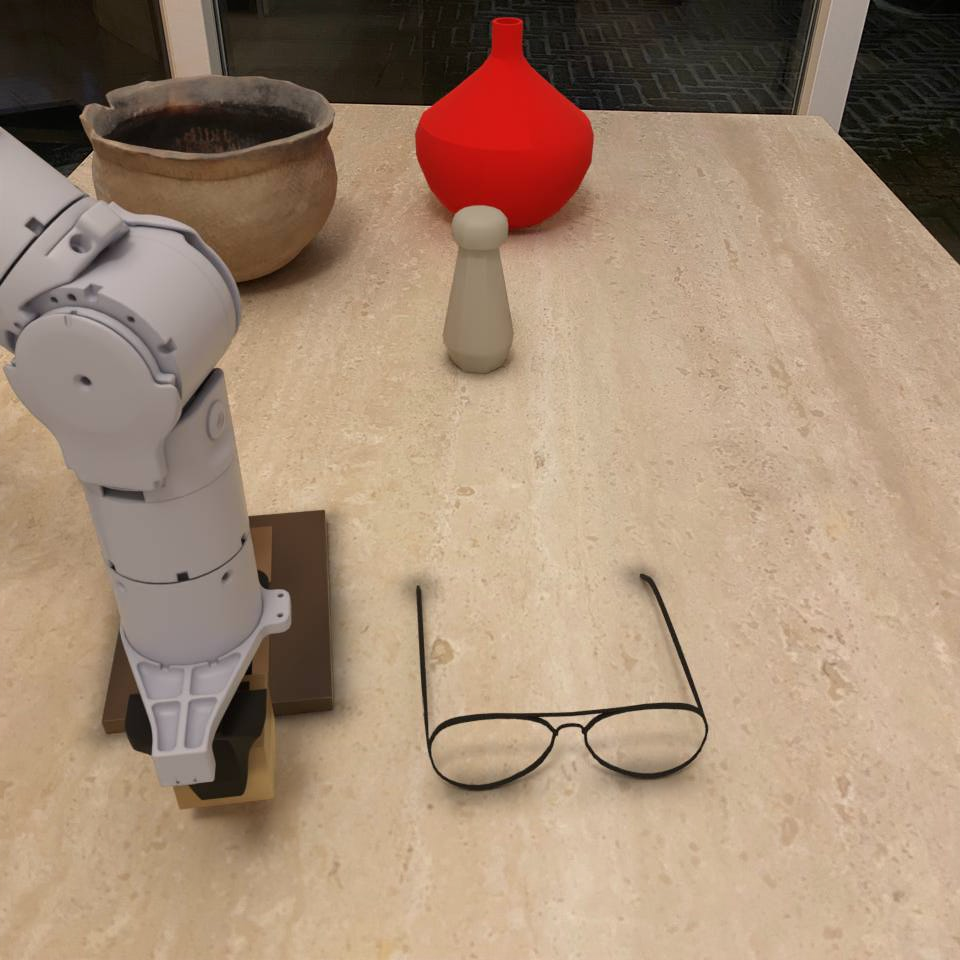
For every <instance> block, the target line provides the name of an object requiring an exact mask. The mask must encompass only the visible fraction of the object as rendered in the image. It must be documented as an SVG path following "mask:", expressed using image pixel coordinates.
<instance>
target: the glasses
mask: <svg viewBox="0 0 960 960" xmlns="http://www.w3.org/2000/svg"><path fill="white" fill-rule="evenodd" d="M639 577H640V578H641V579H642V580H644V581H646V583H648V585H649V586H650V587H649V588H651V590H652V593H653V594H654V597H655V599H656V601H657V604H658V606H659V609H660V612H661V614H662V617H663V619H664V621H665V625H666V627H667V630H668V632H669V635H670V637H671V640H672V642H673V645H674V648H675V651H676V653H677V656H678V659H679V662H680V664H681V667H682V670H683V672H684V674H685V678H686V680H687V683H688V685H689V688H690V690H691V693H692V695H693V698H694V701H695V704H696V705H694V704H690V703H686V702H673V701H672V702H671V701H670V702H665V701H663V702H649V703H648V702H647V703H640V704H633V705H626V706H617V707H608V708H598V709H589V710H577V711H562V712H561V711H560V712H558V711H557V712H487V713H486V712H485V713H474V714H466V715H459V716H455V717H450V718H448V719H446V720H444V721H442V722H441V723H439V724H438V725H437V726H436V727H435V728H434V730H433V731H432V732H431V735H430V732H429V730H430V727H429V708H428V707H429V706H428V687H427V686H428V685H427V669H426V650H425V649H426V648H425V634H424V633H425V632H424V631H425V630H424V616H423V599H422V598H423V597H422V589H421V586H420V584H419V585H418V584H417V585H416V587H415V593H416V594H415V597H416V612H417V613H416V614H417V615H416V617H417V634H418V635H417V636H418V653H419V654H418V655H419V671H420V687H421V689H420V690H421V705H422V717H423V723H424V732H425V733H424V734H425V740H426V741H425V742H426V747H427V753H428V757H429V760H430V763H431V766H432V768H433V770H434V772H435V773H436V774H437V776H439V777H440V778H441V779H442V780H444V781H445V782H447V783H448V784H450V785H452V786H454V787H457V788H460V789H466V790H469V791H470V790H473V791H482V790H483V791H484V790H491V789H495V788H498V787H501V786H504V785H507V784H510V783H512V782H514V781H516V780H519V779H521V778H523V777H526V776H527V775H529V774H530V773H532V772H533V771H536V769H537V768H538V767H539V766H541V765H542V764H543V763H544V761H545V760H546V759H547V757H548V756H549V755H550V753H551V752H552V750H553V748H554V746H555V742H556V738H557V737H558V736H559V733H560V731H561V730H562V729H566V728H580V729H581V730H580V731H581V734H582V735H583V740H584V746H585V748H586V749H587V751H588V752H589V753H590V754H591V756H592V758H593V759H594V760H595V761H597V763H598V764H599V765H601V766H603V767H605V768H606V769H608V770H610V771H613V772H616V773H619V774H621V775H624V776H628V777H631V778H636V779H637V778H638V779H658V778H663V777H666V776H670V775H672V774H675V773H677V772H679V771H681V770H683V769H685V768H686V767H687V766H689V765H690V764H692V762H693V761H695V760H696V759H697V758H698V756H699V754H700V753H701V752H702V749H703V747H704V745H705V743H706V742H707V739H708V735H709V723H708V721H707V716H706V714H705V712H704V709H703V705H702V702H701V699H700V697H699V694H698V691H697V688H696V684H695V682H694V679H693V676H692V673H691V671H690V667H689V664H688V662H687V659H686V657H685V654H684V652H683V648H682V646H681V643H680V641H679V638H678V636H677V633H676V630H675V628H674V625H673V622H672V619H671V618H670V615H669V612H668V610H667V608H666V605H665V602H664V600H663V598H662V594H661V592H660V591H659V588H658V586H657V584H656V582H655V581H654V579H653V578H652V577H651V576H649V575H647V574H645V573H640V574H639ZM651 710H681V711H688V712H692V713H695V714H697V715H698V716H700V717H701V719H702V722H703V724H704V728H705V729H704V736H703V739H702V741H701V743H700V746H699V747H698V749H697V750H696V752H695V753H694V754H693V755H692V756H691V757H690V758H688V759H687V760H686V761H684V762H683V763H681V764H679V765H677V766H675V767H673V768H670V769H667V770H663V771H657V772H638V771H632V770H628V769H624V768H621V767H618V766H616V765H613V764H611V763H609V762H608V761H606V760H604V759H603V758H601V757H600V756H599V755H598V754H597V753H596V752H595V751H594V750H593V748H592V747H591V745H590V743H589V740H588V732H589V731H590V730H591V729H592V728H593V727H594V726H595V725H596V724H597V723H599V722H601V721H603V720H605V719H607V718H608V719H609V718H610V717H613V716H616V715H621V714H624V713H630V712H631V713H632V712H640V711H651ZM589 715H590V716H591V715H596V716H594V717H592V719H590V720H589V722H587V724H586V725H585V726H584V725H583V724H581V723H577V722H568V723H567V722H566V723H564V724H560V725H558V726H557V727H556V728H555V727H554V726H553V725H552V724H551V723H550V722H549V721H548V720H546V719H544V718H564V717H567V718H568V717H580V716H589ZM491 720H519V721H520V720H521V721H530V722H533V723H537V724H540V725H542V726H544V727H546V728H547V729H548V730H549V732H551V734H552V736H551V740H550V743H549V744H548V746H547V747H546V749H545V750H544V751H543V753H542V754H541V755H540V756H539V757H537V759H536V760H535V761H534V762H532V763H531V764H530V765H528V766H527V767H526V768H524V769H522V770H520V771H519V772H516V773H514V774H513V775H510V776H508V777H506V778H503V779H500V780H497V781H492V782H490V783H482V784H468V783H463V782H458V781H456V780H452V779H450V778H448V777H446V775H443V774H442V773H441V772H440V771H439V770H438V768H437V766H436V765H435V762H434V759H433V754H432V746H433V742H434V741H435V738H436V737H437V736H438V735H439V734H440V733H441V732H442V731H443V730H445V729H447V728H449V727H452V726H456V725H460V724H464V723H472V722H478V721H491Z"/></svg>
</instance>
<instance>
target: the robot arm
mask: <svg viewBox="0 0 960 960" xmlns="http://www.w3.org/2000/svg"><path fill="white" fill-rule="evenodd" d="M242 311H243V310H242V300H241V295H240V291H239V287H238V284H237V282H235V280H234V278H233V276H232V274H231V272H230V271H229V269H228V268H227V266H226V265H225V263H224V262H223V261H222V259H221V258H220V257H219V256H218V255H217V254H216V253H215V251H214V250H213V249H212V248H210V247H209V246H208V245H207V244H206V243H205V242H204V241H203V240H202V238H201V237H200V236H199V234H198V233H197V232H196V231H195V230H194V229H193V228H191V227H189V226H187V225H185V224H183V223H181V222H178V221H176V220H173V219H170V218H166V217H162V216H157V215H141V214H134V213H131V212H128V211H126V210H124V209H123V208H121V207H120V206H118V205H117V204H116V203H115V202H111V203H110V204H107V203H106V202H104V201H102V200H100V201H98V200H97V199H95V198H93V197H92V196H90V195H89V194H88V193H86V192H85V191H84V190H83V189H82V188H80V187H79V186H77V185H76V184H75V183H74V182H72V181H71V180H70V179H69V178H67V177H66V176H64V174H62V173H61V172H60V171H58V170H57V169H56V168H54V167H53V166H52V165H51V164H50V163H48V162H47V161H45V160H44V159H43V158H42V157H41V156H39V155H38V154H37V153H35V152H34V151H33V150H32V149H31V148H29V147H28V146H26V145H25V144H24V143H22V142H21V141H20V140H18V139H17V138H16V137H15V136H14V135H12V134H11V133H9V132H8V131H7V130H5V128H3V127H2V126H0V346H1V347H2V348H4V349H5V350H6V351H8V352H10V353H11V354H12V355H14V357H13V358H12V359H10V361H9V362H10V363H7V364H4V365H3V366H2V370H3V373H4V375H5V378H6V380H7V382H8V384H9V386H10V388H11V389H12V391H13V393H14V394H15V395H16V397H17V399H18V400H19V401H20V402H21V404H22V405H23V406H24V408H26V410H27V411H29V413H30V414H31V415H32V416H33V417H34V418H35V419H37V421H39V422H40V423H41V424H42V425H43V426H44V427H45V428H46V429H47V430H48V431H49V432H50V433H51V434H52V436H53V437H54V438H55V440H56V441H57V443H58V446H59V448H60V450H61V453H62V457H63V460H64V463H65V467H66V469H67V470H72V471H73V472H74V473H75V476H76V478H77V479H78V480H79V481H80V483H81V486H82V490H83V493H84V496H85V500H86V504H87V508H88V511H89V513H90V518H91V520H92V524H93V528H94V532H95V534H96V537H97V542H98V544H99V548H100V551H101V556H102V559H103V562H104V566H105V569H106V572H107V576H108V579H109V583H110V586H111V589H112V593H113V596H114V600H115V603H116V607H117V609H118V614H119V617H120V620H119V626H120V634H121V639H122V642H123V646H124V649H125V652H126V655H127V658H128V661H129V663H130V666H131V669H132V672H133V675H134V678H135V681H136V684H137V686H138V689H139V692H140V693H139V694H130V695H129V700H128V706H127V712H126V718H125V731H124V732H125V733H126V737H127V740H128V742H129V744H130V746H131V748H132V749H133V750H134V751H136V752H139V753H142V754H146V755H148V756H151V759H152V762H153V766H154V769H155V772H156V775H157V779H158V782H159V785H160V787H161V788H166V787H167V788H168V787H173V786H177V785H178V786H181V785H188V786H189V787H190V788H191V789H192V791H193V792H194V793H195V794H196V795H197V796H198V797H199V798H200V799H201V800H209V799H218V798H227V797H236V796H242V795H243V794H244V792H245V789H246V785H247V779H248V759H249V752H250V749H251V747H252V745H253V743H254V742H255V741H256V740H257V739H258V738H259V737H260V736H261V733H262V731H263V727H264V724H265V720H266V706H267V689H257V690H247V691H238V692H236V690H237V688H238V686H239V684H240V682H241V680H242V678H243V676H244V675H250V674H252V662H253V657H254V655H255V653H256V651H257V649H258V647H259V645H260V643H261V641H262V639H263V638H264V637H266V636H267V635H269V634H274V633H281V632H285V631H286V630H287V629H289V628H290V625H291V600H290V595H289V593H288V592H287V591H285V590H281V589H276V590H270V584H269V579H268V576H267V575H266V574H265V573H264V572H263V571H260V570H257V567H256V561H255V555H254V549H253V543H252V538H251V532H250V526H249V518H248V516H249V512H248V505H247V500H246V494H245V488H244V483H243V476H242V471H241V464H240V459H239V453H238V446H237V441H236V434H235V429H234V425H233V419H232V413H231V408H230V402H229V401H230V400H229V395H228V389H227V383H226V377H225V372H224V370H223V369H222V368H220V367H216V366H217V365H218V363H219V362H220V360H221V359H223V357H224V355H225V354H226V353H227V352H228V350H229V349H230V347H231V345H232V342H233V340H234V339H235V337H236V335H237V334H238V331H239V328H240V325H241V322H242V313H243V312H242Z"/></svg>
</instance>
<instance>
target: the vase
mask: <svg viewBox="0 0 960 960" xmlns="http://www.w3.org/2000/svg"><path fill="white" fill-rule="evenodd" d="M491 23H492V24H491V25H492V26H491V50H490V54H489V55H488V57H487V58H486V59H485V61H484V62H483V64H482V65H481V66H480V67H478V68H477V69H476V70H475V71H474V72H473V73H471V74H470V75H469V76H467V78H465V79H464V80H463V81H462V82H461V83H460V84H458V85H457V86H456V87H455V88H453V89H452V90H451V91H449V92H448V93H447V94H445V95H444V96H442V97H441V98H440V99H439V100H437V101H436V102H434V104H432V105H431V106H430V107H428V108H426V110H424V111H423V112H422V113H421V116H420V118H419V120H418V123H417V126H416V130H415V132H414V142H415V145H414V146H415V156H416V159H417V162H418V165H419V167H420V169H421V170H420V171H421V172H422V174H423V176H424V179H425V181H426V183H427V185H428V188H429V190H430V192H431V193H432V194H433V195H434V196H435V197H436V199H437V200H438V201H439V202H440V203H441V205H442V206H443V207H444V208H445V209H446V210H447V211H448V212H450V213H451V214H452V215H455V214H456V213H457V212H458V211H460V210H461V209H463V208H465V207H470V206H481V205H484V206H490V207H494V208H496V209H499V210H500V211H501V212H502V213H503V214H504V215H505V216H506V217H507V221H508V231H513V230H516V231H517V230H522V229H528V228H532V227H534V226H537V225H540V224H542V223H543V222H545V221H547V220H548V219H550V218H551V217H553V216H554V215H556V214H558V213H559V212H560V211H561V210H562V209H563V208H564V207H565V205H566V204H568V203H569V201H570V200H571V199H572V198H573V197H574V196H575V194H576V193H577V192H578V191H579V189H580V187H581V185H582V183H583V180H584V179H585V177H586V175H587V172H588V171H589V169H590V167H591V165H592V163H593V162H592V161H593V151H594V142H595V141H594V140H595V133H594V130H593V126H592V122H591V119H590V118H589V117H588V116H587V115H586V113H585V112H584V111H583V110H582V109H580V108H579V107H578V106H576V105H575V104H574V103H573V102H572V101H571V100H569V99H568V98H567V97H566V96H564V95H563V94H562V93H561V92H559V90H557V89H556V87H554V86H553V85H552V84H551V83H549V81H548V80H546V79H545V78H544V77H543V76H542V75H541V74H540V73H538V72H537V71H536V70H535V69H534V68H533V67H532V66H531V64H530V63H529V62H528V60H527V59H526V57H525V56H524V50H523V35H524V21H523V19H521V18H517V17H507V16H506V17H497V18H494V19H492V20H491Z"/></svg>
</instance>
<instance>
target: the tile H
mask: <svg viewBox="0 0 960 960" xmlns="http://www.w3.org/2000/svg"><path fill="white" fill-rule="evenodd" d="M257 689H267V706H266V720H265V724H264V727H263V731H262V733H261V736H260V737H259V738H258V739H257V740H256V741H255V742H254V743H253V745H252V747H251V749H250V752H249V759H248V779H247V785H246V789H245V792H244V794H243V795H242V796H236V797H227V798H218V799H209V800H201V799H200V798H199V797H198V796H197V795H196V794H195V793H194V792H193V791H192V789H191V788H190V787H189V786H188V785H181V786H178V785H177V786H172V789H173V792H174V796H175V799H176V802H177V805H178V809H179V810H187V809H196V808H204V807H205V808H206V807H214V806H221V805H223V806H224V805H231V804H238V803H248V802H256V801H264V800H265V801H266V800H273V799H275V773H276V771H275V770H276V769H275V768H276V767H275V765H276V721H275V715H274V714H273V708H272V703H271V697H270V691H269V685H268V680H267V674H266V673H260V674H250V675H244V676H243V678H242V680H241V682H240V684H239V686H238V688H237V690H236V692H238V691H247V690H257Z"/></svg>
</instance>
